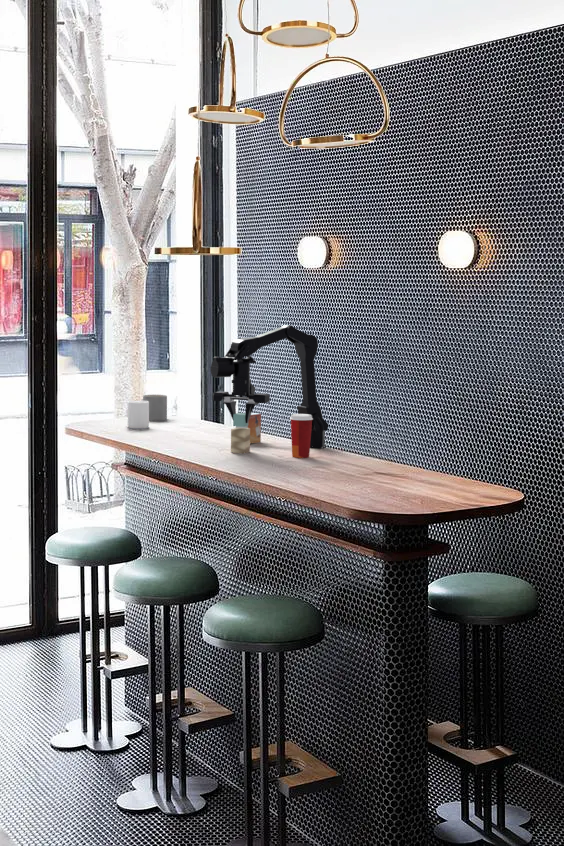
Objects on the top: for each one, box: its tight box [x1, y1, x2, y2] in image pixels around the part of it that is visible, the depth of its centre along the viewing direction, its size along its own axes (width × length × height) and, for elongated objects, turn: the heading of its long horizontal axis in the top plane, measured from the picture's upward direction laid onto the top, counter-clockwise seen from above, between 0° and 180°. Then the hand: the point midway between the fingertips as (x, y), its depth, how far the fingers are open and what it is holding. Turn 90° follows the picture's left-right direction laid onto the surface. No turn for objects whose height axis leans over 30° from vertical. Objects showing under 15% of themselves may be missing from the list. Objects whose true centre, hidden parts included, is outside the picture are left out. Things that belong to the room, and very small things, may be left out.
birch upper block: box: [230, 427, 250, 442], centre depth 364 cm, size 5×5×4 cm
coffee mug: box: [140, 394, 168, 422], centre depth 451 cm, size 13×10×10 cm
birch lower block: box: [230, 440, 251, 454], centre depth 364 cm, size 5×5×4 cm
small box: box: [235, 412, 262, 445], centre depth 386 cm, size 8×6×10 cm
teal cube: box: [232, 412, 248, 427], centre depth 363 cm, size 4×4×4 cm
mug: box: [126, 400, 150, 430], centre depth 424 cm, size 12×8×10 cm
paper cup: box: [289, 413, 313, 459], centre depth 355 cm, size 8×8×14 cm
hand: (240, 422), depth 363 cm, fingers closed on teal cube, 4 cm apart
